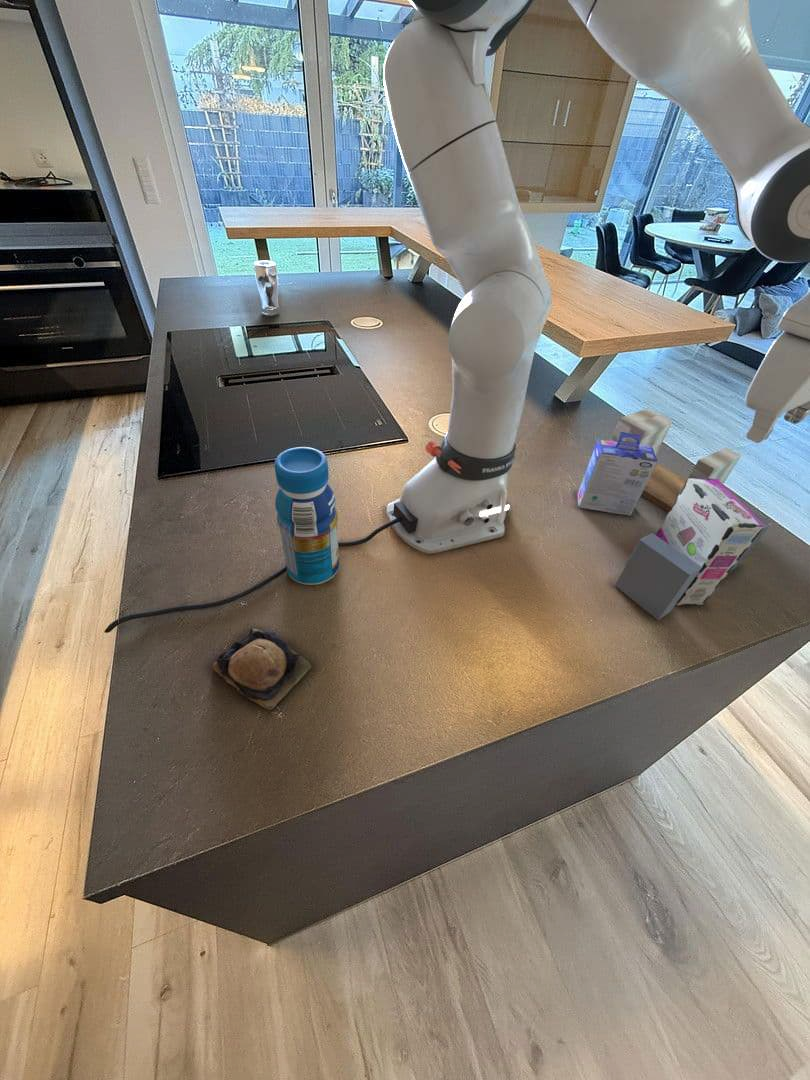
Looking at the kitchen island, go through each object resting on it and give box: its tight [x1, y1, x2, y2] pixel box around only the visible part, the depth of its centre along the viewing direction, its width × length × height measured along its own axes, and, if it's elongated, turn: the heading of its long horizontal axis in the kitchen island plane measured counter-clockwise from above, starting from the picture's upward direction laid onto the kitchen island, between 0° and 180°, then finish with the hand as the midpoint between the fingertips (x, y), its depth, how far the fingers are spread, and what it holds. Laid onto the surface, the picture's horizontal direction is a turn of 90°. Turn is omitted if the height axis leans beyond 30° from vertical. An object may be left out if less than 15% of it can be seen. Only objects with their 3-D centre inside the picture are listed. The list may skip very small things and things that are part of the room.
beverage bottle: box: [274, 446, 340, 586], centre depth 66 cm, size 8×8×20 cm
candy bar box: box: [655, 478, 765, 607], centre depth 69 cm, size 11×5×16 cm, turn 5°
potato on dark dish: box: [212, 628, 312, 711], centre depth 58 cm, size 11×8×4 cm
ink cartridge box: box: [577, 432, 658, 517], centre depth 84 cm, size 10×6×14 cm, turn 78°
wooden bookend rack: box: [610, 408, 742, 513], centre depth 90 cm, size 11×23×11 cm, turn 33°
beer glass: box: [253, 260, 280, 317], centre depth 152 cm, size 7×7×15 cm
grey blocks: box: [614, 507, 773, 621], centre depth 72 cm, size 22×8×10 cm, turn 123°
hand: (774, 429), depth 57 cm, fingers open, 8 cm apart
